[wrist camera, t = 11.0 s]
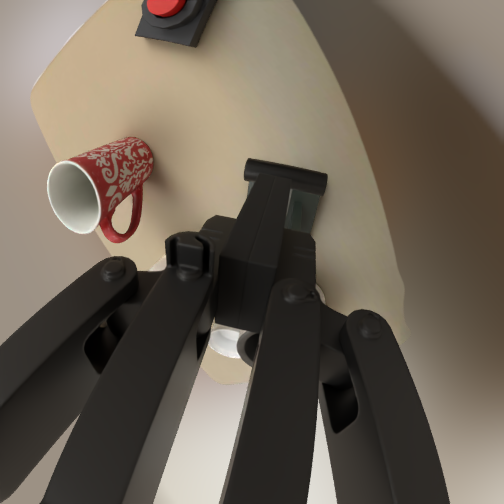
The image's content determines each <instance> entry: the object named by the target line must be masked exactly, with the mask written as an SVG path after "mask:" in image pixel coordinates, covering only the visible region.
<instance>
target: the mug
mask: <svg viewBox="0 0 504 504" xmlns="http://www.w3.org/2000/svg"><path fill="white" fill-rule="evenodd" d="M152 170H153V156H152V153H151V151H150V149H149V147H148V146H147V145H146V144H145V143H144V142H143V141H142V140H140V139H138V138H135V137H128V138H124V139H121V140H117V141H115V142H112V143H109V144H106V145H104V146H101V147H98V148H96V149H93V150H91V151H88V152H85V153H83V154H80V155H78V156H76V157H73V158H71V159H68V160H63V161H60V162H58V163H57V164H55V165H54V166H53V168H52V169H51V171H50V173H49V176H48V181H47V191H48V197H49V201H50V204H51V206H52V209H53V211H54V213H55V214H56V216H57V217H58V218H59V220H60V221H61V222H62V223H63V224H64V225H65V226H66V227H67V228H69V229H70V230H71V231H73V232H76V233H78V234H88V233H91V232H93V231H94V230H95V229H96V228H97V227H98V225H100V227H101V229H102V232H103V233H104V235H105V237H106V238H107V239H108V240H109V241H111V242H113V243H122V242H124V241H126V240H127V239H128V238H129V237H131V236H132V235H133V234H134V232H135V231H136V229H137V227H138V225H139V222H140V218H141V212H142V200H143V182H145V181H146V180H147V179H148V178H149V176H150V175H151V173H152ZM130 194H132V196H133V209H132V217H131V223H130V226H129V229H128V230H127V232H126V233H125V234H119V233H118V232H116V231H115V230H114V228H113V227H112V222H111V219H112V216H113V214H114V212H115V207H117V206H118V205H119V204H120V203H121V202H122V201H123V200H124V199H125V198H126V197H127V196H128V195H130Z"/></svg>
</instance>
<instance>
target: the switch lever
mask: <svg viewBox="0 0 504 504" xmlns="http://www.w3.org/2000/svg"><path fill="white" fill-rule="evenodd" d="M259 173H263V174H268V175H273V176H278V177H283V178H288V179H292V182H291V188H290V195H289V201H288V206H289V202H290V198H291V193H292V190H297V191H301V192H306V193H311V194H315V195H319V196H323V195H324V193H325V190H326V185H327V178H328V176H327V174H326V173H321V172H317V171H312V170H308V169H303V168H299V167H294V166H289V165H284V164H279V163H274V162H268V161H263V160H257V159H251V158H248V160H247V162H246V165H245V170H244V180H245V181H251V182H255V181H256V179H257V177H258V175H259ZM287 211H288V208H287ZM286 215H287V214H286Z"/></svg>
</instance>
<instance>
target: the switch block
mask: <svg viewBox="0 0 504 504" xmlns="http://www.w3.org/2000/svg"><path fill="white" fill-rule="evenodd" d="M147 1H148V0H144V1H143V3H142V14H143V15H142V18H141V20H140V23H139V26H138V28H137V31H136V34H135V36H139V37H146V38H152V39H157V40H163V41H168V42H172V43H177V44H182V45H186V46H190V47H194V48H196V47H197V44H198V42H199V39H200V37H201V35H202V32H203V30H204V28H205V25H206V23H207V21H208V19H209V17H210V14H211V12H212V10H213V8H214V6H215V4H216V2H217V0H186V2H185V5H184V7H183V8H182V9H181V10H180V11H179V12H178V13H177V14H175V15H173V16H169V17H162V16H159V15H155V14H153V13H151V12H150V11H149V10H148V8H147Z"/></svg>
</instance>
